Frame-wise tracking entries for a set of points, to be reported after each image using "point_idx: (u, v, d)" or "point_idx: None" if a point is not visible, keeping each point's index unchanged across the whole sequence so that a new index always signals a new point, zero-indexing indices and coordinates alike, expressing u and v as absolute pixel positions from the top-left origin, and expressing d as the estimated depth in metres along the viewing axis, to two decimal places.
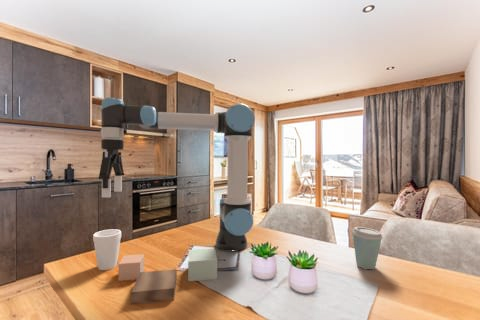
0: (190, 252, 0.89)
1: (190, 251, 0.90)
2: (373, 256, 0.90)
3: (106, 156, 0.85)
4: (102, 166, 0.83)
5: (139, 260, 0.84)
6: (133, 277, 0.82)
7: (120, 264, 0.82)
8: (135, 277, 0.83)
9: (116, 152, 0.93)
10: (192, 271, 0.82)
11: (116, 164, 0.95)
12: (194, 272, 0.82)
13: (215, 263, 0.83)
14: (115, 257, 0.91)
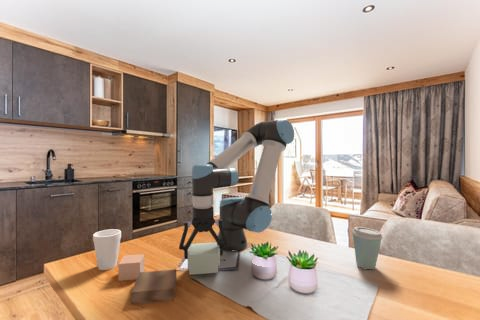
0: (192, 245, 0.90)
1: (192, 245, 0.91)
2: (373, 256, 0.90)
3: None
4: (182, 236, 0.87)
5: (139, 260, 0.84)
6: (133, 277, 0.82)
7: (120, 264, 0.82)
8: (135, 277, 0.83)
9: (206, 219, 0.87)
10: (193, 264, 0.83)
11: (211, 233, 0.88)
12: (195, 265, 0.83)
13: (216, 256, 0.84)
14: (115, 257, 0.91)
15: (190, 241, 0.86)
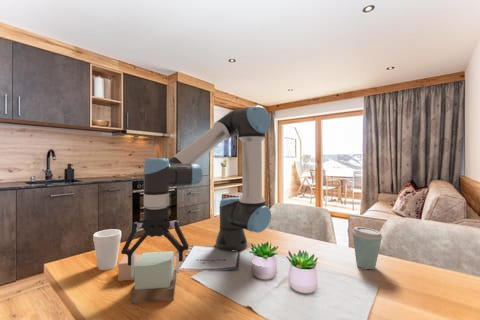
0: (143, 255, 0.78)
1: (144, 254, 0.79)
2: (373, 256, 0.90)
3: None
4: None
5: None
6: (133, 277, 0.82)
7: (120, 264, 0.82)
8: None
9: (158, 223, 0.75)
10: (139, 277, 0.70)
11: None
12: (142, 279, 0.70)
13: (167, 268, 0.71)
14: (115, 257, 0.91)
15: (136, 245, 0.73)
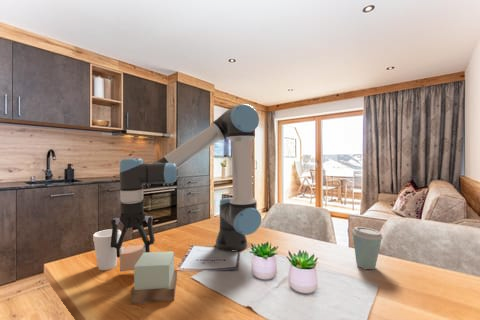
0: (143, 255, 0.78)
1: (144, 254, 0.78)
2: (373, 256, 0.90)
3: None
4: None
5: (140, 250, 0.84)
6: None
7: (121, 254, 0.82)
8: None
9: (135, 214, 0.84)
10: (139, 277, 0.70)
11: None
12: (142, 279, 0.70)
13: (167, 269, 0.71)
14: (115, 257, 0.91)
15: (121, 238, 0.84)
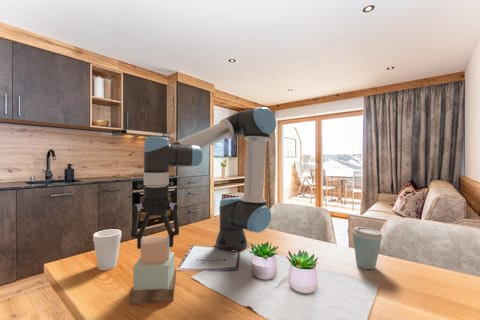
0: None
1: None
2: (373, 256, 0.90)
3: None
4: None
5: (164, 241, 0.74)
6: (158, 260, 0.72)
7: (143, 245, 0.72)
8: (160, 260, 0.73)
9: (160, 199, 0.74)
10: (138, 278, 0.70)
11: None
12: (141, 279, 0.70)
13: (165, 270, 0.71)
14: (115, 257, 0.91)
15: (143, 227, 0.74)
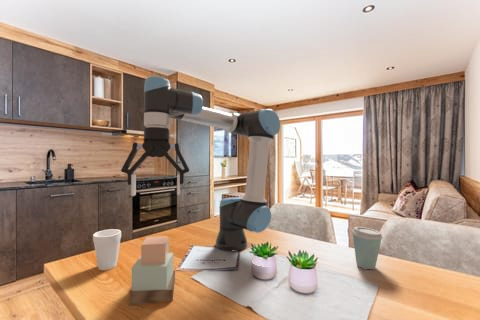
0: None
1: None
2: (373, 256, 0.90)
3: None
4: None
5: (164, 241, 0.74)
6: (157, 260, 0.72)
7: (143, 245, 0.71)
8: (160, 260, 0.72)
9: (159, 143, 0.74)
10: (136, 278, 0.70)
11: None
12: (139, 280, 0.70)
13: (164, 270, 0.70)
14: (115, 257, 0.91)
15: (136, 164, 0.73)
